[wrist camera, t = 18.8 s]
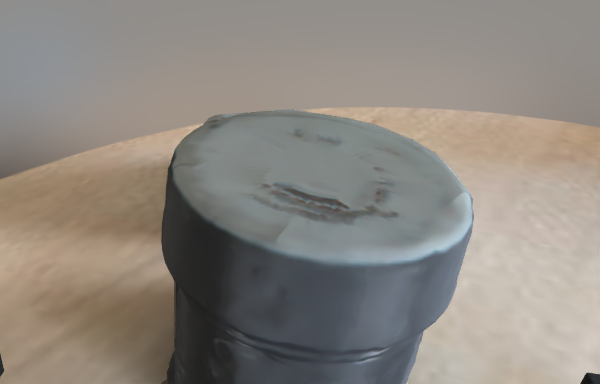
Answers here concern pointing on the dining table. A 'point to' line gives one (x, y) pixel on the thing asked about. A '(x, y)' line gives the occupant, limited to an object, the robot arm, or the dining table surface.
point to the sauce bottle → (308, 250)
